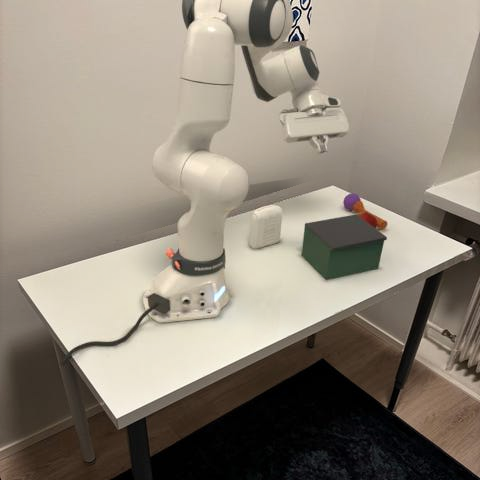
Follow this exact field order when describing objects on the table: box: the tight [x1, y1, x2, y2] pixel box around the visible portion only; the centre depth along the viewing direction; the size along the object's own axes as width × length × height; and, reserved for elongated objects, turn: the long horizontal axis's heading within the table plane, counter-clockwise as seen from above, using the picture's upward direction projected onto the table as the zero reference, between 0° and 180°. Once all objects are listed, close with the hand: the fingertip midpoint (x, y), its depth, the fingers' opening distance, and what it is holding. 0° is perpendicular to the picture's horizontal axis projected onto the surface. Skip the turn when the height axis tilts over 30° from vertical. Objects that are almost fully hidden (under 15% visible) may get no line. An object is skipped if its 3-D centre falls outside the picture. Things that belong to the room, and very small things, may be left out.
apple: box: [356, 212, 377, 229], centre depth 161 cm, size 8×8×8 cm
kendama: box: [342, 193, 388, 231], centre depth 172 cm, size 6×6×20 cm
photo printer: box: [249, 204, 283, 249], centre depth 153 cm, size 10×4×12 cm, turn 123°
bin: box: [300, 226, 385, 281], centre depth 146 cm, size 15×18×10 cm
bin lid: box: [304, 213, 388, 251], centre depth 143 cm, size 15×18×1 cm
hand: (322, 152), depth 144 cm, fingers closed
